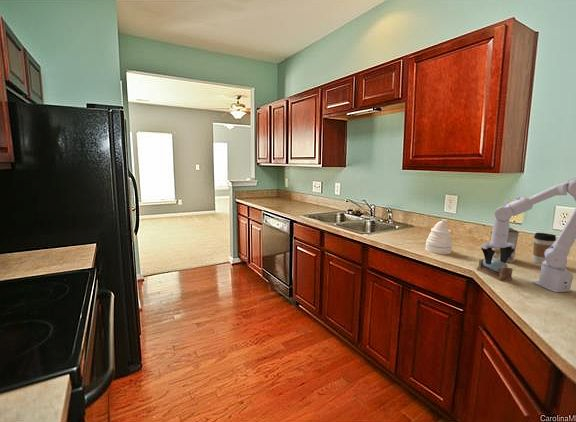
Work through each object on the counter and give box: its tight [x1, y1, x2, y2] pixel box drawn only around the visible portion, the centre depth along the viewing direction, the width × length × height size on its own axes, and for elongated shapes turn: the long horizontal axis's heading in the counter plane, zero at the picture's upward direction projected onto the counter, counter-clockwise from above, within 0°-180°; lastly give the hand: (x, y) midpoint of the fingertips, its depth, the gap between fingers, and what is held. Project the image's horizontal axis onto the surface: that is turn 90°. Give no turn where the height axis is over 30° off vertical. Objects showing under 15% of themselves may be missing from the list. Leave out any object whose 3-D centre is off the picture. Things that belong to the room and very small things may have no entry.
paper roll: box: [483, 257, 509, 273], centre depth 134 cm, size 8×5×5 cm, turn 10°
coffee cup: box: [532, 232, 557, 265], centre depth 151 cm, size 8×8×15 cm
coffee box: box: [493, 227, 520, 263], centre depth 155 cm, size 9×6×16 cm
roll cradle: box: [476, 258, 513, 282], centre depth 134 cm, size 6×13×5 cm, turn 10°
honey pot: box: [425, 218, 453, 255], centre depth 167 cm, size 13×13×18 cm
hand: (495, 263), depth 134 cm, fingers open, 7 cm apart
